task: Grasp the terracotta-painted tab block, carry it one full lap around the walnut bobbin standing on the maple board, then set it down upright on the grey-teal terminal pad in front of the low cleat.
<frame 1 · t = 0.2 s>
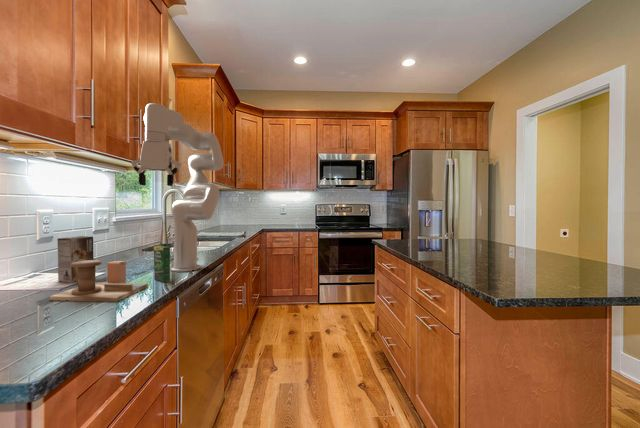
hand: (156, 185, 116), 36 cm above the counter, tool pointing down, fingers open, 9 cm apart
bobbin: (86, 295, 99), resting on board
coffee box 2: (161, 280, 120), on the counter
board: (102, 293, 102), on the counter
tab block: (116, 284, 113), on the counter
coffee box: (76, 279, 119), on the counter
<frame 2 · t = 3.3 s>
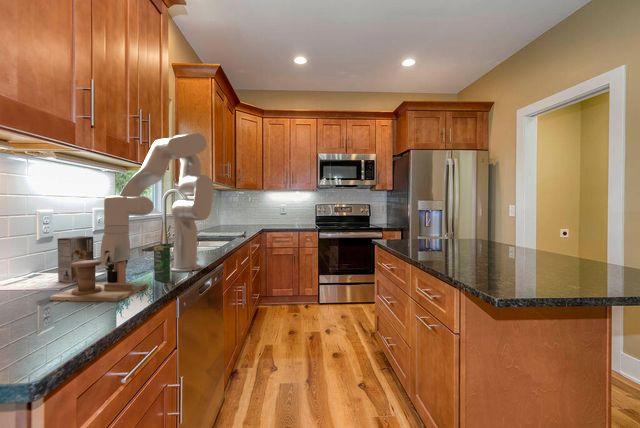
hand: (116, 280, 113), 1 cm above the counter, tool pointing down, fingers closed on tab block, 4 cm apart
tab block: (116, 284, 113), on the counter, touching gripper
everything else where it was.
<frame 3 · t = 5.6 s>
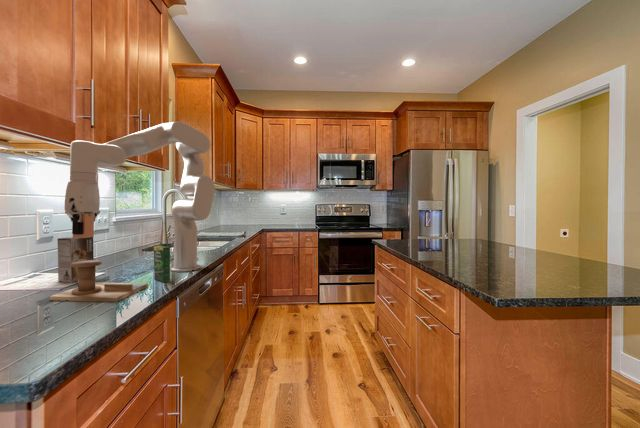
hand: (83, 233, 105), 19 cm above the counter, tool pointing down, fingers closed on tab block, 4 cm apart
tab block: (83, 237, 105), point 18 cm above the counter, touching gripper
everything else where it was.
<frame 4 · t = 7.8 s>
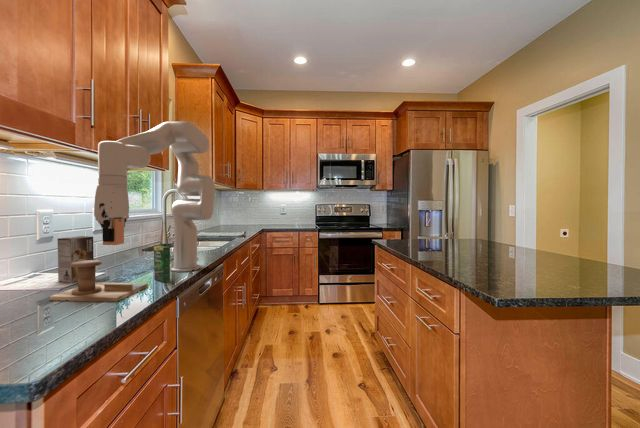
hand: (113, 239, 98), 18 cm above the counter, tool pointing down, fingers closed on tab block, 4 cm apart
tab block: (113, 244, 98), point 16 cm above the counter, touching gripper
everything else where it was.
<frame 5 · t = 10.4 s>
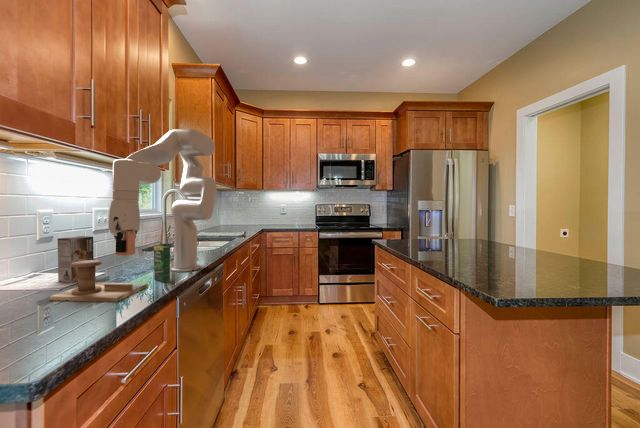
hand: (125, 250, 105), 13 cm above the counter, tool pointing down, fingers closed on tab block, 4 cm apart
tab block: (125, 254, 105), point 12 cm above the counter, touching gripper
everything else where it was.
when the fingers open (4 cm above the counter, at t = 12.3 s): tab block drops 1 cm, resting on board.
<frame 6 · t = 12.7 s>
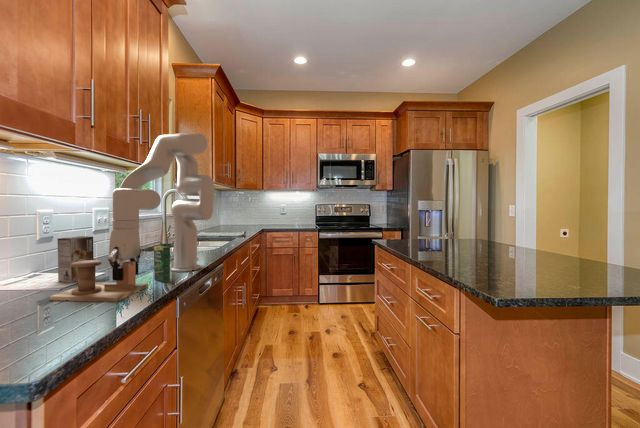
hand: (125, 277, 106), 4 cm above the counter, tool pointing down, fingers open, 7 cm apart
tab block: (126, 286, 106), point 1 cm above the counter, touching board
everything else where it was.
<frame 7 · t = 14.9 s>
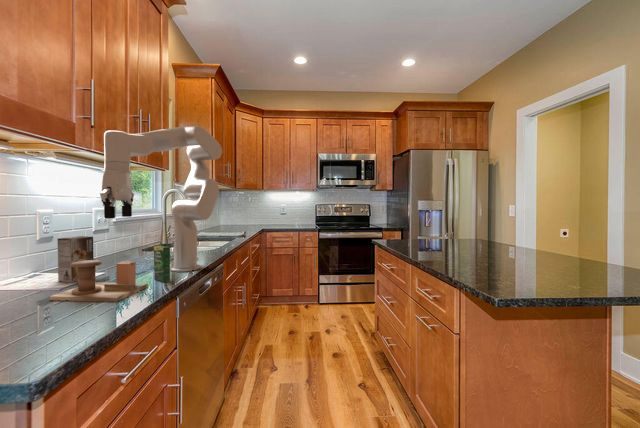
hand: (118, 217, 109), 24 cm above the counter, tool pointing down, fingers open, 9 cm apart
nothing on the counter moved.
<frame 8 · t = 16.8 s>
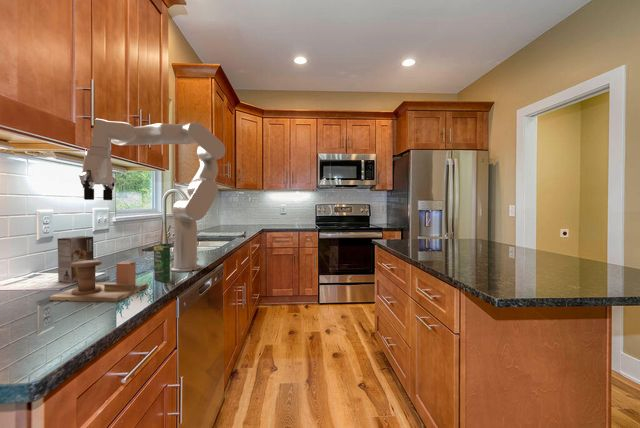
hand: (98, 199, 116), 30 cm above the counter, tool pointing down, fingers open, 9 cm apart
nothing on the counter moved.
at the end: tab block inside the target area on the board (0.3 cm from its centre), point 1.3 cm above the board's base; tab block tilted 0°; the gripper is holding nothing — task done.
